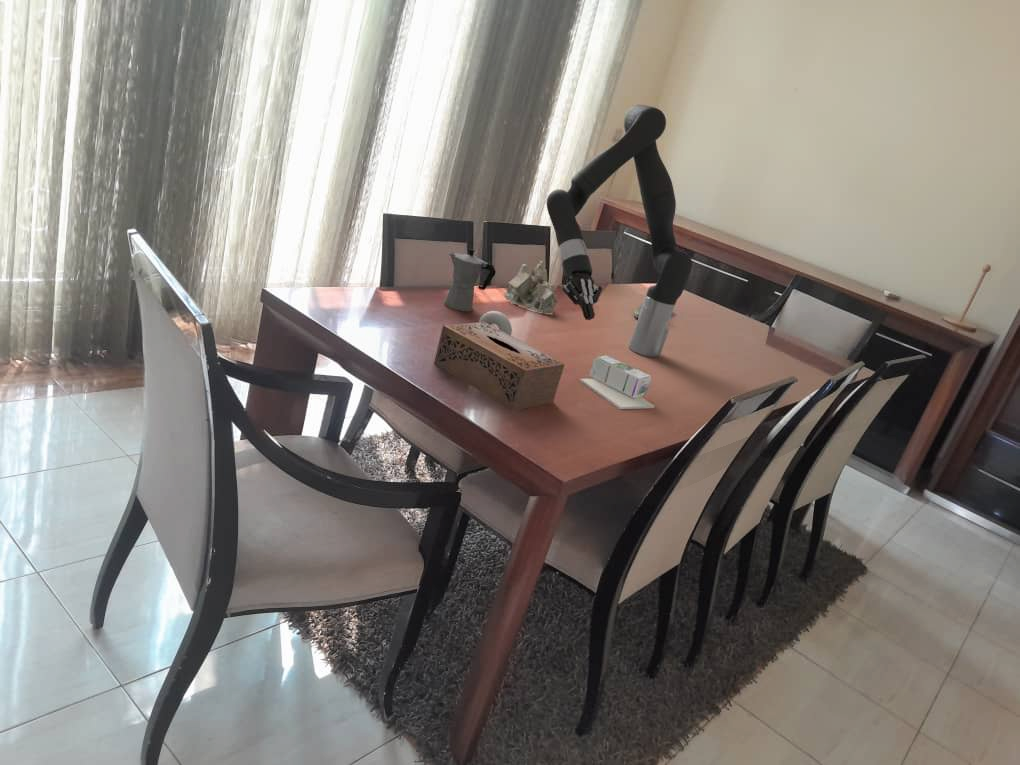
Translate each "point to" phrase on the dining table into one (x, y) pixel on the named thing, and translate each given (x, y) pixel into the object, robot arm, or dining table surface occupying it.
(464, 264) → the coffeepot
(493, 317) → the donut
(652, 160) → the robot arm
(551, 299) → the ceramic cottage
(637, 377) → the syrup box
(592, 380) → the mat
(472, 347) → the tissue box cover
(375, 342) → the dining table surface
